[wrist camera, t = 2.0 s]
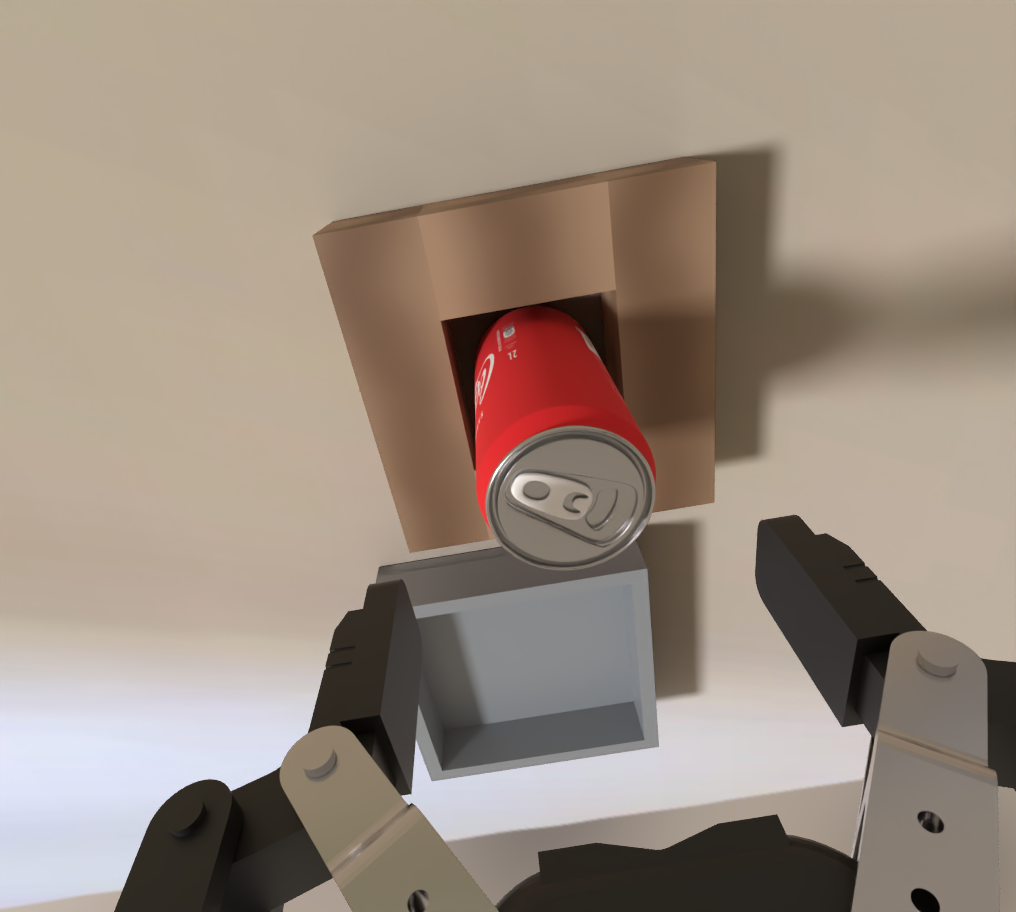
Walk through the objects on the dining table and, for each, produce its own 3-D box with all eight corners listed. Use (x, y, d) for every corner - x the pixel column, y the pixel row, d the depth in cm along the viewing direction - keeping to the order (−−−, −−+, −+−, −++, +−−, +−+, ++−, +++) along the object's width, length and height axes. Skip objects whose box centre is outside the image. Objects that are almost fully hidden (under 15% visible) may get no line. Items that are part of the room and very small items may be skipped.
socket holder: (684, 156, 23) (716, 161, 20) (689, 464, 30) (714, 502, 27) (332, 221, 24) (312, 235, 21) (416, 509, 31) (410, 552, 27)
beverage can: (561, 423, 29) (614, 595, 18) (458, 389, 28) (450, 551, 17) (608, 323, 26) (699, 454, 16) (498, 281, 25) (518, 391, 15)
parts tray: (630, 525, 32) (647, 568, 29) (643, 697, 38) (658, 746, 35) (379, 567, 32) (369, 613, 29) (434, 729, 39) (431, 781, 36)
